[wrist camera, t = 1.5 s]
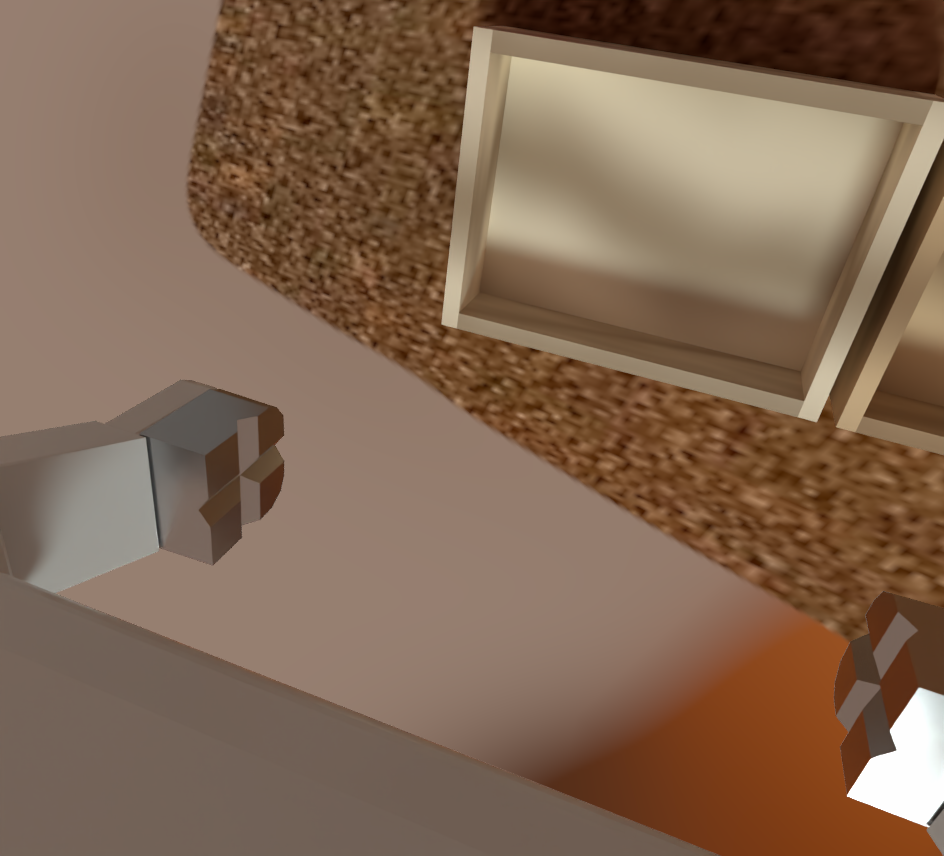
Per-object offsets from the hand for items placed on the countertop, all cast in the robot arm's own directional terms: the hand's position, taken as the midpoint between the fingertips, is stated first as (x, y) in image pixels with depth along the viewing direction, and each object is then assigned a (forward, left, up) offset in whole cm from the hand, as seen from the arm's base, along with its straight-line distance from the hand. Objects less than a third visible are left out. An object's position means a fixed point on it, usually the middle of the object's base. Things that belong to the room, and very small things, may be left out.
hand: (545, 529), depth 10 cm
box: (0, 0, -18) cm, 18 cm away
